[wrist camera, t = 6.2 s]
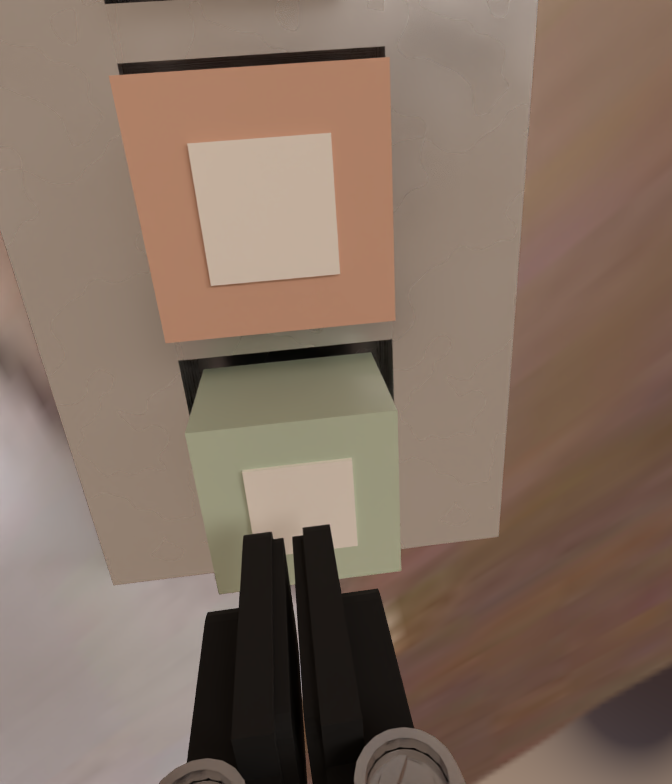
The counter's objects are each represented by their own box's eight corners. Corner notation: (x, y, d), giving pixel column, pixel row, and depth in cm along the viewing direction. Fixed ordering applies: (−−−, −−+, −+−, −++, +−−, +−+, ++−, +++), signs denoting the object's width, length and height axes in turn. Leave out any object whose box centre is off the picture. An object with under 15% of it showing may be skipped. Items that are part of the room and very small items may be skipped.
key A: (359, 77, 12) (391, 56, 9) (368, 279, 14) (396, 322, 11) (152, 91, 12) (106, 75, 9) (190, 295, 14) (164, 345, 11)
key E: (371, 352, 15) (398, 412, 12) (377, 489, 17) (401, 573, 14) (203, 369, 15) (183, 436, 11) (229, 506, 17) (218, 597, 13)
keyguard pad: (533, -1074, 8) (661, -1662, 6) (468, 483, 20) (498, 536, 18) (-326, -1135, 7) (-668, -1861, 5) (135, 522, 19) (113, 585, 17)
